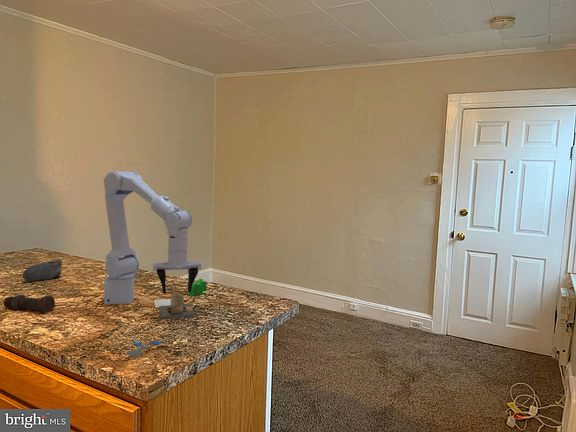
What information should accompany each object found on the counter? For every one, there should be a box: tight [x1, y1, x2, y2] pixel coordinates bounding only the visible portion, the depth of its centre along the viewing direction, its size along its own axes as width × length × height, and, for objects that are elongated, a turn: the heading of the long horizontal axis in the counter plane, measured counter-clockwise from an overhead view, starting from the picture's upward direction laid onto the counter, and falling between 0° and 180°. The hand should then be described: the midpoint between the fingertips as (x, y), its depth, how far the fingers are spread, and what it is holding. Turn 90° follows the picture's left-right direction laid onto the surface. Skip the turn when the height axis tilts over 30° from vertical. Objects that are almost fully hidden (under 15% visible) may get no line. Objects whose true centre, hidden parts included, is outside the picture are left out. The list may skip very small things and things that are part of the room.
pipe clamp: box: [188, 278, 208, 297], centre depth 155 cm, size 11×4×5 cm, turn 173°
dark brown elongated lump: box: [3, 294, 56, 314], centre depth 131 cm, size 6×5×15 cm
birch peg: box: [169, 293, 184, 313], centre depth 133 cm, size 4×4×6 cm
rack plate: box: [158, 303, 196, 320], centre depth 133 cm, size 10×10×2 cm
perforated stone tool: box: [22, 259, 63, 282], centre depth 165 cm, size 15×5×7 cm, turn 142°
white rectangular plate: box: [153, 298, 171, 309], centre depth 141 cm, size 6×8×1 cm
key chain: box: [126, 336, 172, 357], centre depth 109 cm, size 14×8×1 cm, turn 159°
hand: (176, 292), depth 132 cm, fingers open, 7 cm apart
